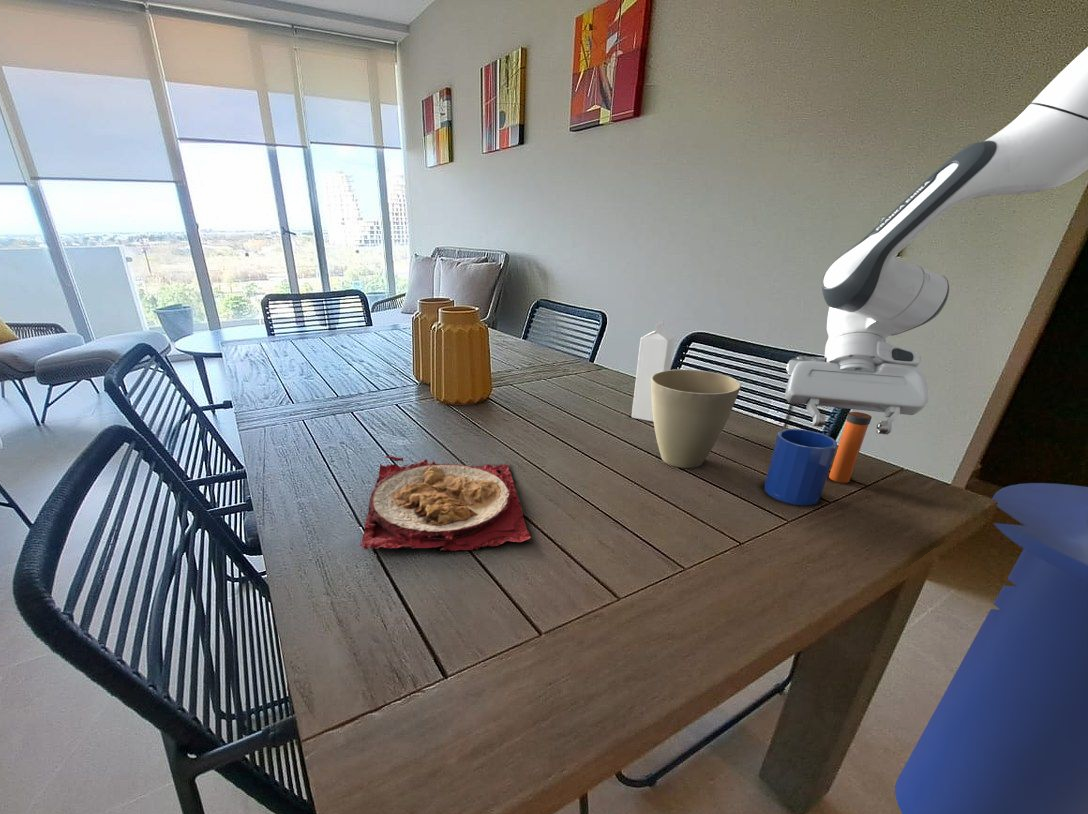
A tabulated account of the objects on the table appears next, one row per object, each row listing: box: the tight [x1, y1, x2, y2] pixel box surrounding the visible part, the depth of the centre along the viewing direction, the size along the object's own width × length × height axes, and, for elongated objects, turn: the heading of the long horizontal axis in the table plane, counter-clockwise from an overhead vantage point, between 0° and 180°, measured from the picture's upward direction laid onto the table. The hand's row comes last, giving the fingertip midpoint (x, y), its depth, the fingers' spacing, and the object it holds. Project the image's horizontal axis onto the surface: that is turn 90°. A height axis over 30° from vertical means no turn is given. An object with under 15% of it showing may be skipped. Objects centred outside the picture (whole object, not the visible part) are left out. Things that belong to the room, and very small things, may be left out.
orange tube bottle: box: [828, 411, 873, 484], centre depth 82 cm, size 3×3×12 cm
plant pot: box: [651, 368, 742, 469], centre depth 89 cm, size 15×15×16 cm
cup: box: [763, 428, 838, 506], centre depth 78 cm, size 8×8×10 cm
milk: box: [631, 320, 676, 423], centre depth 109 cm, size 6×6×22 cm
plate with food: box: [359, 455, 532, 552], centre depth 77 cm, size 24×26×4 cm
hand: (850, 429), depth 82 cm, fingers open, 8 cm apart
